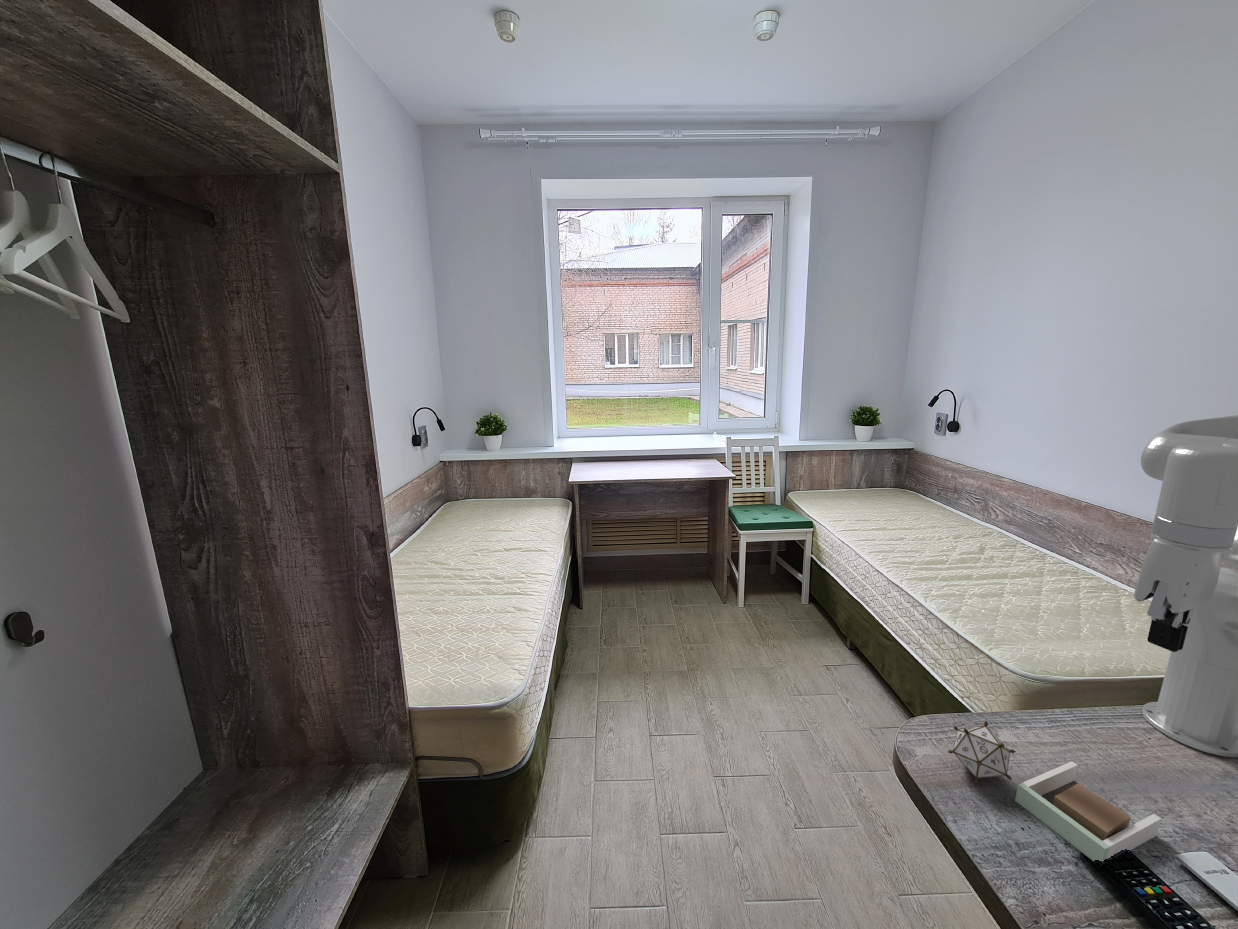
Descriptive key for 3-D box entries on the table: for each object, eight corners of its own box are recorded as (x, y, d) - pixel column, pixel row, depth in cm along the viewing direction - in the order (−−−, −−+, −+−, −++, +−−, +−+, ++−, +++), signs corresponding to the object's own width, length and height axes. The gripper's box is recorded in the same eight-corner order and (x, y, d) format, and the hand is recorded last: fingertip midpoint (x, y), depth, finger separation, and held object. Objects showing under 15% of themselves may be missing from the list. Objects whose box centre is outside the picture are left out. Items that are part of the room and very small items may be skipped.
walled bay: (1068, 776, 78) (1071, 761, 78) (1156, 835, 69) (1161, 818, 68) (1014, 800, 74) (1018, 784, 74) (1100, 867, 65) (1105, 849, 64)
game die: (988, 798, 79) (1039, 788, 72) (937, 775, 80) (982, 763, 73) (980, 741, 85) (1025, 727, 78) (932, 720, 86) (973, 704, 79)
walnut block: (1073, 804, 74) (1078, 783, 73) (1124, 840, 68) (1130, 817, 67) (1049, 818, 72) (1054, 796, 71) (1100, 856, 66) (1106, 832, 65)
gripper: (1183, 515, 74) (1158, 622, 78) (1125, 532, 69) (1102, 644, 73) (1259, 531, 67) (1227, 647, 71) (1201, 551, 62) (1171, 674, 66)
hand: (1164, 645), depth 72 cm, fingers closed
